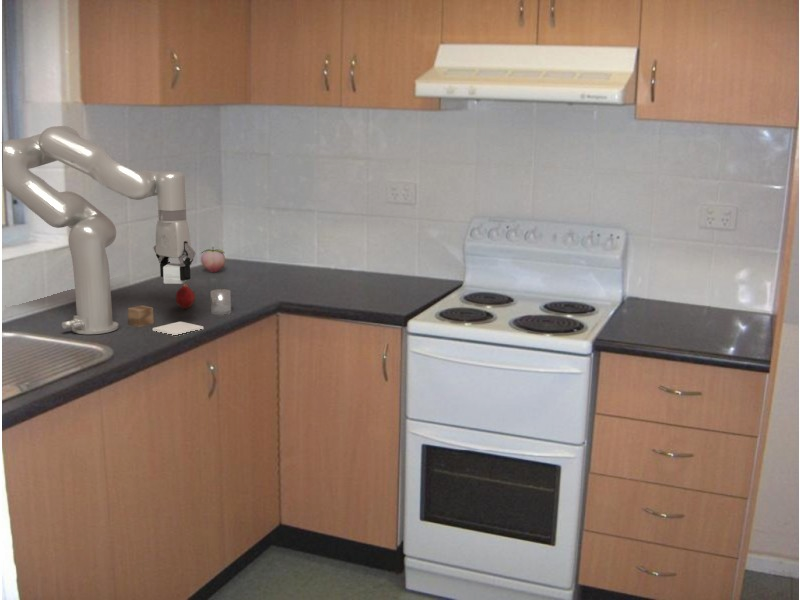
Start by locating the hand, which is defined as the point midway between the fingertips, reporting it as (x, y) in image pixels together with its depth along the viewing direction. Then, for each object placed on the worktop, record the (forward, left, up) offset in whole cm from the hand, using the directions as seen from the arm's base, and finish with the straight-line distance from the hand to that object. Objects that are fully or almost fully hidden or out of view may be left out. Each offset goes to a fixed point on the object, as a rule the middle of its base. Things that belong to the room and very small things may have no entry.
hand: (175, 277), depth 248 cm
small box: (0, 0, -1) cm, 1 cm away
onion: (+19, +19, -15) cm, 31 cm away
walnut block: (-2, +14, -15) cm, 21 cm away
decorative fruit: (+67, +59, -16) cm, 91 cm away
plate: (0, 0, -15) cm, 15 cm away
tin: (+22, +6, -15) cm, 27 cm away
